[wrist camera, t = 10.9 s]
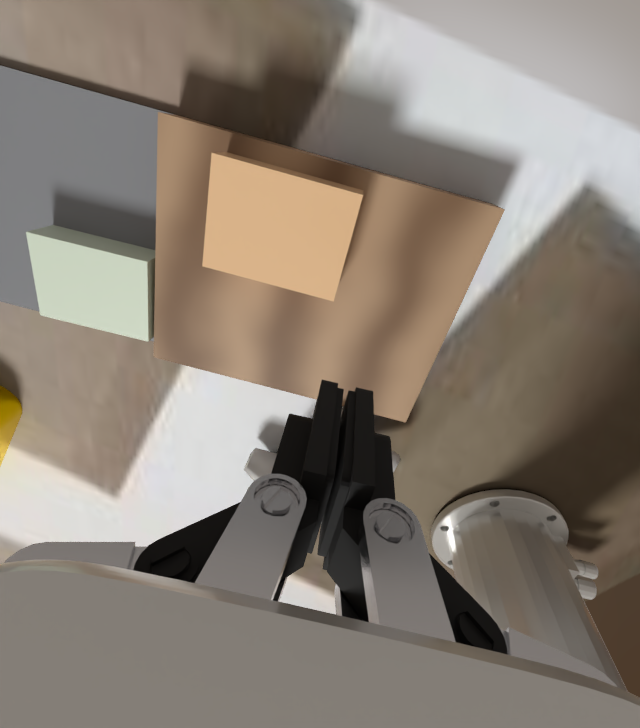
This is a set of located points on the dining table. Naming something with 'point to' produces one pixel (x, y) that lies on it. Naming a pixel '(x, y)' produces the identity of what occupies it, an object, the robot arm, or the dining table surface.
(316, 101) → the dining table surface
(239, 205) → the light orange flat block
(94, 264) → the sage tile
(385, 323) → the board
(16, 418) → the element tile
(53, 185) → the grey square tray
